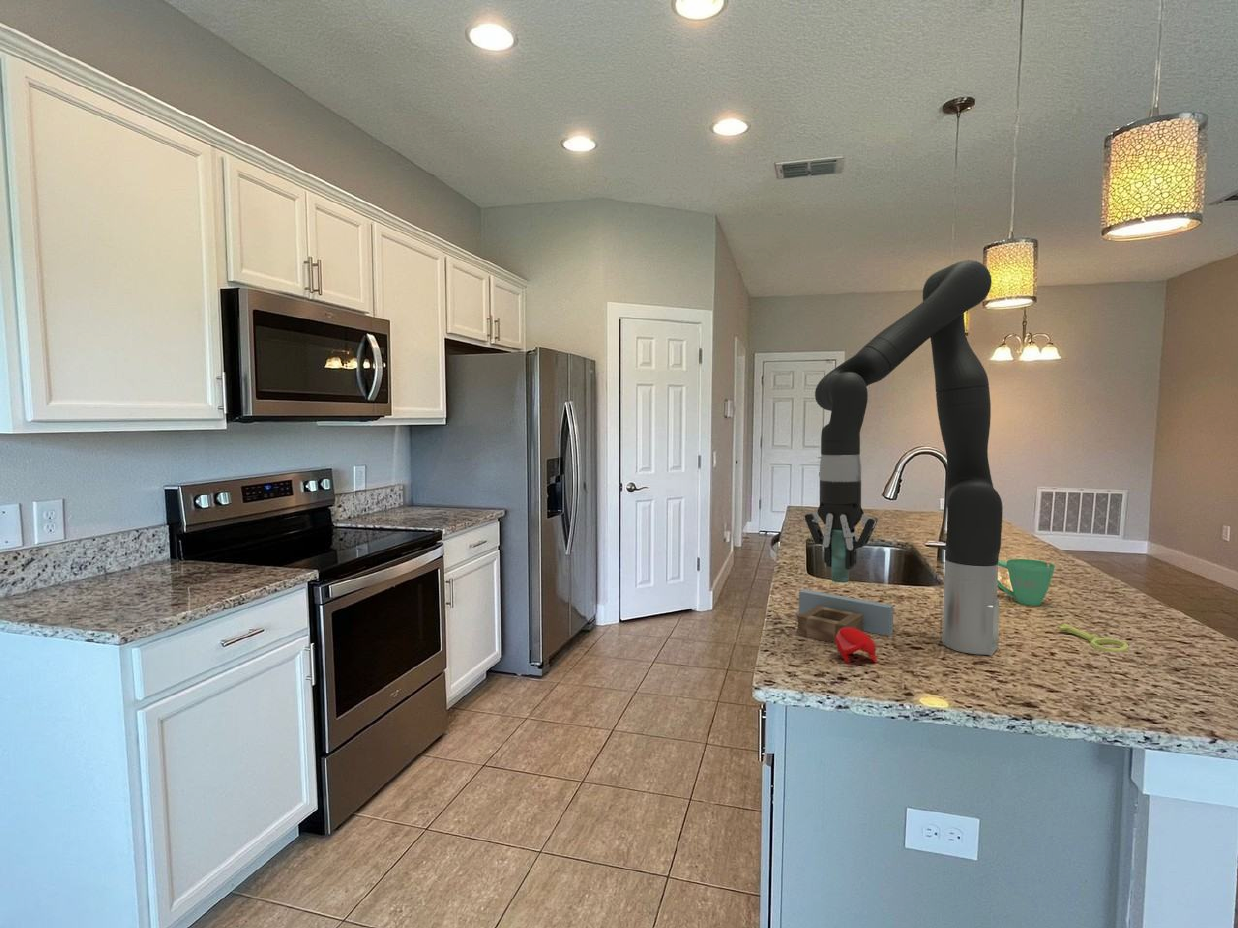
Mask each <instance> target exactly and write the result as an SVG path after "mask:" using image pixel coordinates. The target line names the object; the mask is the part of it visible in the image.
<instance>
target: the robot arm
mask: <svg viewBox="0 0 1238 928" xmlns="http://www.w3.org/2000/svg"><path fill="white" fill-rule="evenodd" d="M992 282H993V281H992V274H991V273H990V271H989V269H988V268H987V267H986V266H985V264H984V263H982V262H980V261H977V260H970V259H968V260H966V259H965V260H961V261H958V262H955V263H952V264H950V265H949V266H947V267H944V268H942V269H940V270H938V271H935V272H934V273H933V274H931V275H930V276H929V277H928V278H927V279H926V281H925V283H924V285H923V289H922V302H921V303H919V304H918V305H917V306H916V307H915V308H914V307H913V309H912V310H910V311H909V312H908V313H906V314H905V315H903V316H902V317H900V318H898V319H897V320H896V321H895V322H893V323H891V324H890V325H888V326H887V327H885V328H884V329H883V330H882V331H880V332H879V333H878V334H876V335H875V337H873V338H872V339H871V340H869V342H867V344H865V345H864V346H863V347H862V348H861V349H860V350H859V351H857V353H855V355H854V356H852V357H851V358H849V359H847V360H846V361H844V362H842V363H841V364H840V365H838V366H836V367H835V368H834V369H832V370H831V371H830V372H828V373H827V374H825V375H824V376H823V377H822V378H821V379H820V381H819V382H818V383H817V385H816V388H815V390H814V398H815V401H816V403H817V405H818V406H819V407H820V408H822V409H823V410H826V411H830V417H829V422H828V423H827V424H826V425H825V426H823V427H822V429H821V434H820V435H821V436H820V461H819V473H818V477H819V506H818V508H817V511H815V512H814V511H813V512H810V513H807V514H805V515H804V520H805V522H806V525H807V528H808V529H809V530H808V531H809V532H810V535H811V537H812V540H813V542H814V543H815V544H819V545H821V546H823V562H824V563H825V564H826V567H828V568H831V535H832V529H835V530H843V534H844V538H845V540H846V545H847V549H848V550H846V569H849V570H852V569H854V567H855V566H856V565H857V560H858V559H857V554H858V553H857V551H858V549H861V548H863V547H866V546H867V545H868V543H869V540H870V538H871V536H872V534H873V532H874V530H875V528H876V526H877V524H878V522H879V521H878V519H877V517H874V516H873V517H871V516H869V515H866V514H865V513H864V510H863V508H862V464H861V463H862V462H861V429H862V426H863V423H864V419H865V414H866V410H867V405H868V399H869V398H868V397H869V394H868V393H869V391H868V388H867V387H868V386H870V385H872V384H874V383H878V382H880V381H882V380H883V379H885V378H886V377H887V376H889V374H891V372H892V373H893V371H894V370H895V369H896V368H897V367H898V366H900V364H902V363H903V362H904V361H905V360H907V358H908V357H910V356H911V354H913V353H914V352H915V351H916V350H917V349H919V348H920V347H921V346H922V345H924V343H925V342H927V341H928V340H929V339H930V343H931V351H932V361H933V371H934V372H933V373H934V382H935V383H934V385H935V398H936V408H937V416H938V421H939V422H938V423H939V428H940V432H941V437H942V442H943V445H944V452H945V456H946V494H945V505H946V533H945V534H946V537H945V546H944V571H943V572H944V574H943V575H944V577H943V604H942V605H943V606H942V607H943V608H942V609H943V610H942V632H941V634H942V641H941V642H942V645H943V646H945V647H946V648H948V649H950V650H953V651H957V652H960V653H964V654H970V655H986V656H993V655H994V654H995V652H996V651H997V649H998V647H999V628H1000V627H999V625H1000V600H998V589H999V588H998V580H999V565H998V562H999V560H1000V559H999V557H1000V552H1001V547H1002V533H1003V531H1002V530H1003V501H1002V497H1001V495H1000V494H999V492H998V491H997V490H996V489H995V488H994V484H993V480H992V475H991V469H990V464H989V455H988V454H989V453H988V450H989V439H990V430H991V417H992V416H991V413H992V412H991V406H992V405H991V394H990V391H991V390H990V382H989V378H988V374H987V372H986V370H985V368H984V366H983V365H982V363H981V361H980V360H979V358H978V357H977V355H976V354H975V352H974V351H973V349H972V347H971V345H970V343H969V341H968V338H967V334H966V333H967V332H966V325H965V313H967V312H968V311H970V310H971V309H973V308H975V307H977V306H979V304H981V303H982V302H983V301H984V300H985V299H986V298H987V297H988V296H989V293H990V291H991V289H992V288H991V287H992ZM820 520H821V521H822V522H823V524H824V525H825V526H824V529H823V530H824V531H823V532H822V529H821V526H820V523H819V522H820ZM860 521H861V526H862V527H863V529H862V531H861V532H860V536H859V537H858V539H857V531H856V526H857V525H858V524H859V522H860Z"/></svg>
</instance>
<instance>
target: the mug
mask: <svg viewBox="0 0 1238 928" xmlns="http://www.w3.org/2000/svg"><path fill="white" fill-rule="evenodd" d="M999 566H1000V567H1002V568H1004V569H1006V570H1007V571H1008V575H1009V576H1008V577H1009V583H1010V586H1011V589H1012V590H1011V589H1010V588H1008V587H1006V586H1004V585H1003V584H1002V583H1001V582H1000V580H999V579H998V588H997V589H998V590H999V591H1001V592H1002V593H1004V594H1006V595H1008V596H1010V597H1012V598H1013V599H1014V600H1016V602H1017V603H1018V604H1020V605H1024V606H1031V607H1038V606H1041V604H1042V602H1043V601H1044V599H1045V597H1046V595H1047V592H1048V590H1049V588H1050V586H1051V580H1052V578H1053V575H1054V571H1055V568H1056V567H1055V565H1054V564H1053V563H1049V564H1048V563H1047V561H1044V560H1043V561H1042V560H1037V559H1031V558H1030V559H1029V558H1026V559H1025V558H1012V559H1011V558H1010V559H1008V560H1006V561H1004V560H1001V559H999V562H998V567H999Z"/></svg>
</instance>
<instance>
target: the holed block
mask: <svg viewBox="0 0 1238 928" xmlns="http://www.w3.org/2000/svg"><path fill="white" fill-rule="evenodd" d="M845 627H851V628H855V629H858V630H860V631H862V632H864V631H863V614H859V613H854V612H849V611H844V610H839V609H833V608H828V607H823V606H818V605H817V606H816V607H814V608H812V609H810V610H808V611H806V612H804V613H803V614H801V615H799V614H798V616H797V635H798V636H803V637H807V638H810V639H816V640H821V641H823V642H829V643H833V644H836V640H835V637H836V636H837V633H838V631H839V630H840V629H842V628H845Z"/></svg>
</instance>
